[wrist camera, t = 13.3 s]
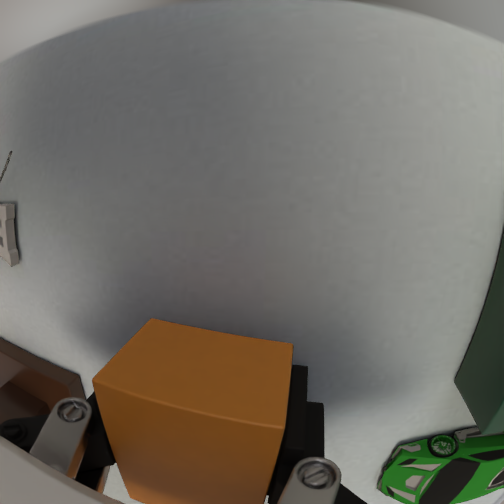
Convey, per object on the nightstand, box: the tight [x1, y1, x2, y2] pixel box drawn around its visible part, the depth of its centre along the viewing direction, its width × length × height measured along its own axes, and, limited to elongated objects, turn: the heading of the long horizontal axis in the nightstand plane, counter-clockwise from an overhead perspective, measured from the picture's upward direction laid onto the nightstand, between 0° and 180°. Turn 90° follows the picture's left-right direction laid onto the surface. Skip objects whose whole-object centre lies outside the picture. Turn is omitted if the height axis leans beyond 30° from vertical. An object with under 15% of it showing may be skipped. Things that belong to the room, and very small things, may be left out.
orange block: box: [92, 318, 293, 504], centre depth 8 cm, size 6×4×4 cm
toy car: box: [377, 428, 504, 504], centre depth 9 cm, size 10×5×2 cm, turn 90°
